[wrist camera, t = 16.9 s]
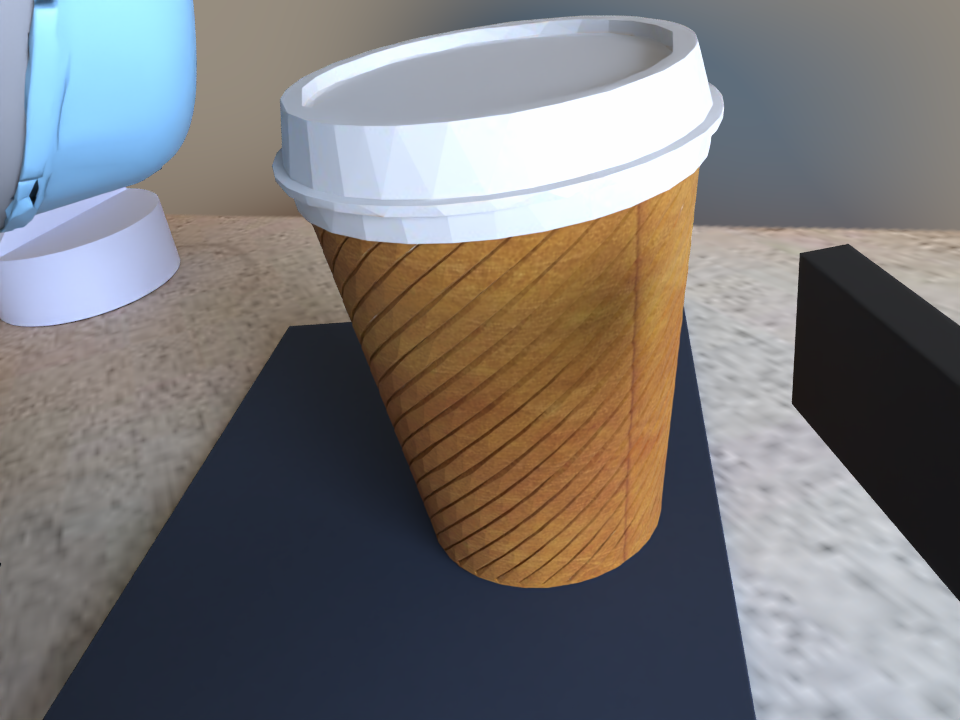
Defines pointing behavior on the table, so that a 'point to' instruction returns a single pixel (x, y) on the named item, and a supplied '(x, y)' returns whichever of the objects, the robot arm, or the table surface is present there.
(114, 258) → the wedge on round base
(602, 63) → the disposable coffee cup
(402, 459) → the mat
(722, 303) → the table surface
